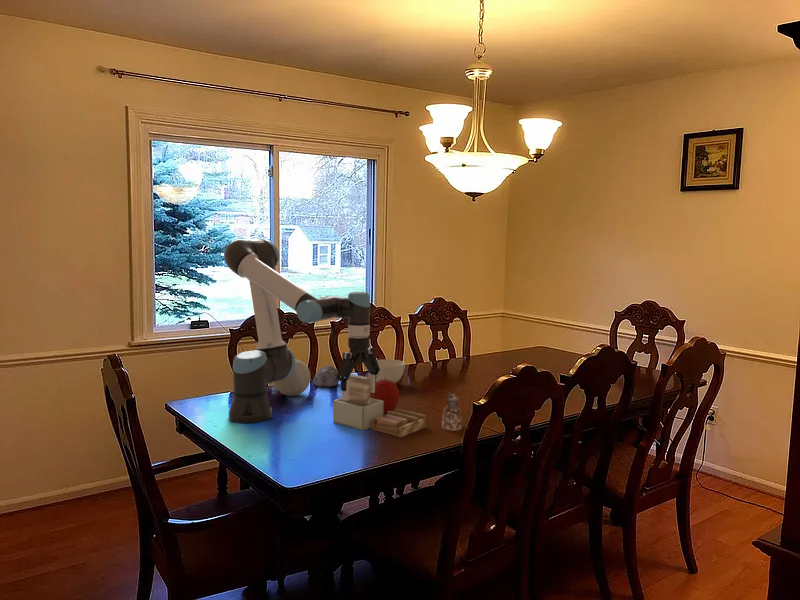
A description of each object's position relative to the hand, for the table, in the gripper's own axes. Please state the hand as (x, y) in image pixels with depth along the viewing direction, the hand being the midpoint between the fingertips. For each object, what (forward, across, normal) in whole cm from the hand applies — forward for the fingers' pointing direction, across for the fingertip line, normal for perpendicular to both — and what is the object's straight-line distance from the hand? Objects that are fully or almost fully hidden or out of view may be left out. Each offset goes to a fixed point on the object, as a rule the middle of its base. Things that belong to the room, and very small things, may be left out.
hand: (358, 396), depth 219 cm
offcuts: (+9, +2, -14) cm, 17 cm away
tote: (+10, 0, 0) cm, 10 cm away
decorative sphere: (+10, +10, +46) cm, 48 cm away
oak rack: (+10, +4, -14) cm, 18 cm away
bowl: (+10, +48, +27) cm, 56 cm away
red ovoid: (+10, +15, 0) cm, 18 cm away
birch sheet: (+9, 0, 0) cm, 9 cm away
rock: (+10, +31, +47) cm, 57 cm away
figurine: (+10, +17, -28) cm, 34 cm away
